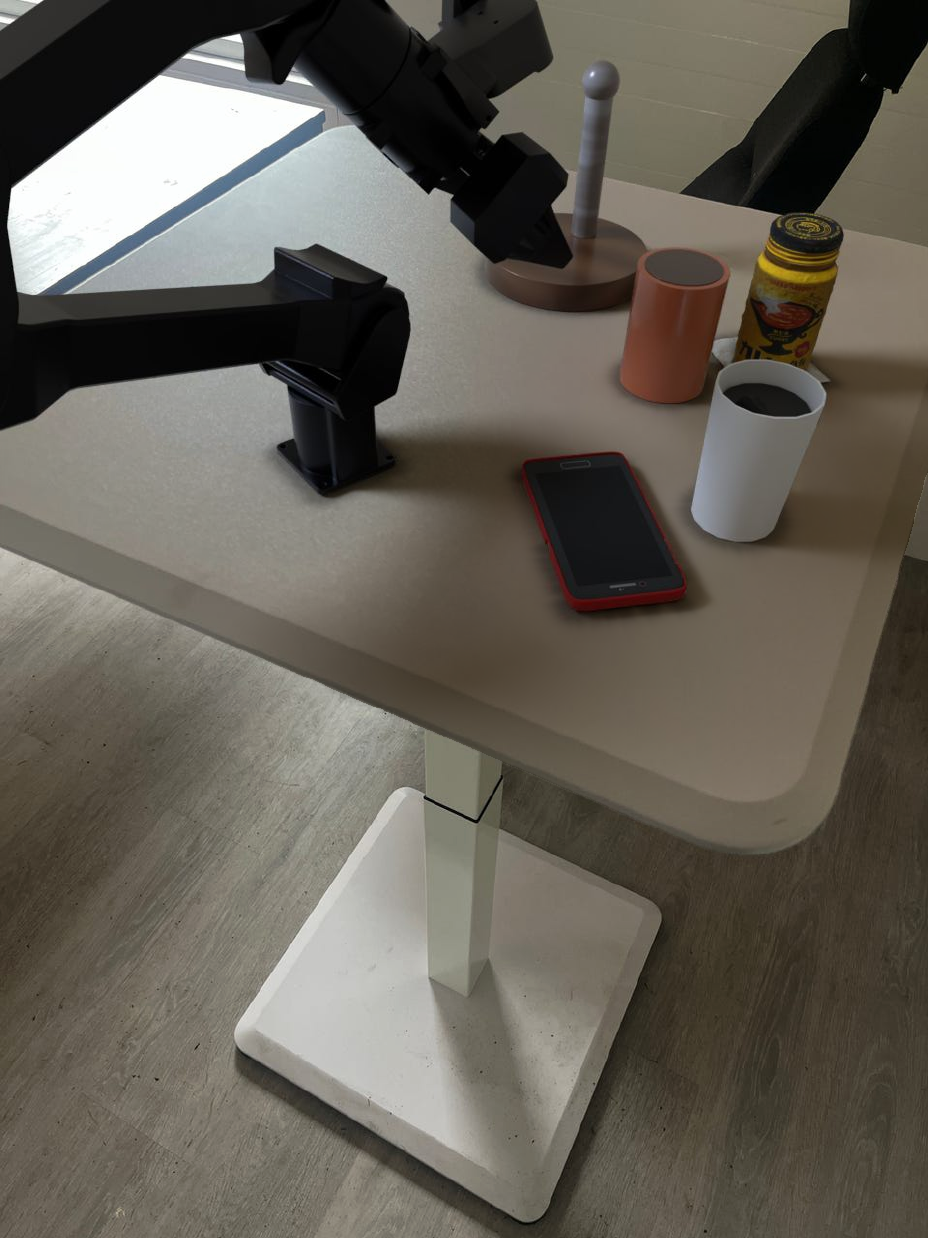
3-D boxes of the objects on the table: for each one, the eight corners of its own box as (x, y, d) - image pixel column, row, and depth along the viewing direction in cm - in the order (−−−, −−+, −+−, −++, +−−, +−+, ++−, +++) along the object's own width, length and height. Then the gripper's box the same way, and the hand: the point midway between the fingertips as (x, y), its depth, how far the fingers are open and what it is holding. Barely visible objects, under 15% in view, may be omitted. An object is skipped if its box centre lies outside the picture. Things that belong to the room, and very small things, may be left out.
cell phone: (621, 459, 68) (622, 448, 67) (689, 601, 58) (692, 590, 57) (517, 469, 67) (518, 458, 66) (569, 615, 57) (570, 604, 56)
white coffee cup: (737, 560, 61) (777, 432, 54) (664, 506, 65) (692, 380, 57) (803, 521, 64) (849, 395, 57) (729, 472, 67) (764, 348, 60)
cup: (712, 403, 74) (740, 288, 67) (627, 403, 73) (646, 288, 66) (693, 357, 78) (718, 245, 71) (613, 358, 78) (630, 245, 71)
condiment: (750, 396, 74) (791, 249, 66) (701, 343, 80) (733, 201, 71) (829, 383, 76) (880, 238, 67) (776, 332, 82) (816, 191, 73)
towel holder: (599, 328, 81) (628, 116, 69) (454, 281, 87) (457, 77, 74) (668, 263, 90) (705, 65, 78) (533, 224, 96) (547, 33, 83)
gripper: (551, -22, 44) (700, 186, 55) (403, -97, 55) (552, 87, 66) (399, 176, 47) (569, 334, 58) (290, 66, 59) (449, 215, 70)
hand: (534, 232), depth 63 cm, fingers open, 9 cm apart
